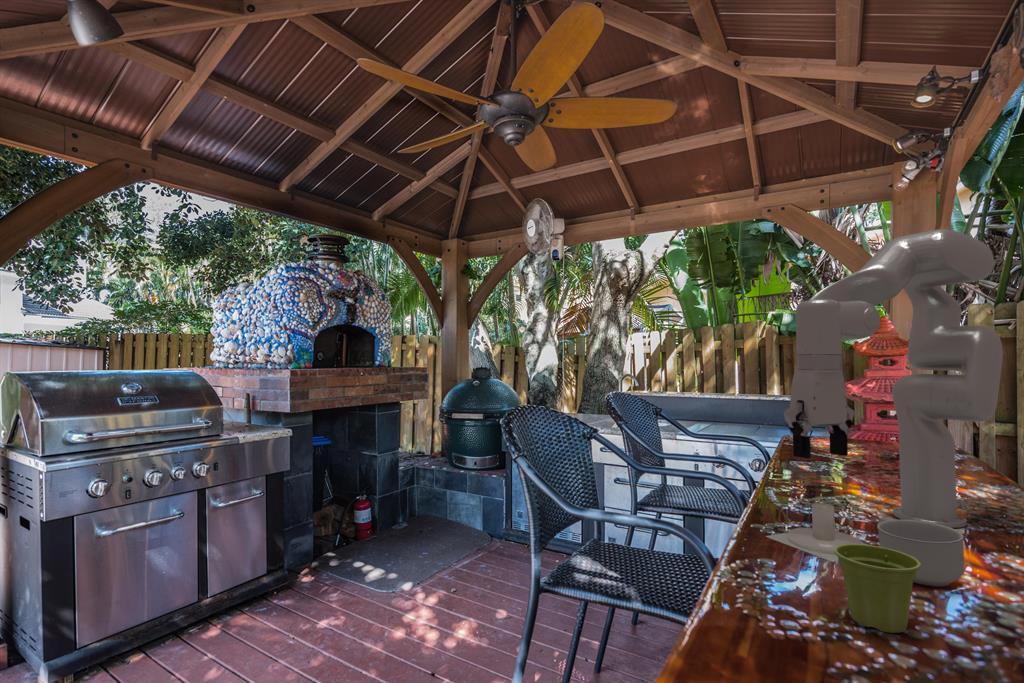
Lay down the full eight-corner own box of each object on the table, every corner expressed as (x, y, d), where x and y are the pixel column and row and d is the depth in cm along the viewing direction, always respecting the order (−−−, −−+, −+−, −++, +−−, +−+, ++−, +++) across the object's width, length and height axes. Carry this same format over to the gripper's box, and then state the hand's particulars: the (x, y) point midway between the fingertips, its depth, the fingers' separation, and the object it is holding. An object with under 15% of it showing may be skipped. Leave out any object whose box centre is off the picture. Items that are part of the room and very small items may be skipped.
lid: (817, 529, 105) (816, 494, 105) (878, 549, 94) (877, 510, 94) (773, 537, 101) (772, 500, 101) (831, 559, 89) (830, 517, 90)
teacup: (983, 597, 76) (981, 541, 76) (899, 591, 78) (897, 536, 78) (927, 561, 89) (926, 514, 90) (857, 557, 91) (856, 511, 92)
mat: (816, 529, 106) (816, 527, 106) (887, 553, 93) (887, 550, 93) (765, 538, 101) (765, 536, 101) (832, 564, 88) (832, 561, 88)
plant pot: (819, 606, 73) (818, 544, 73) (882, 604, 74) (880, 542, 74) (871, 642, 63) (869, 570, 64) (942, 639, 64) (940, 568, 65)
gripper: (832, 365, 105) (834, 450, 104) (768, 364, 99) (769, 455, 98) (870, 365, 98) (871, 457, 97) (803, 364, 92) (805, 462, 91)
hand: (820, 455), depth 98 cm, fingers open, 9 cm apart
